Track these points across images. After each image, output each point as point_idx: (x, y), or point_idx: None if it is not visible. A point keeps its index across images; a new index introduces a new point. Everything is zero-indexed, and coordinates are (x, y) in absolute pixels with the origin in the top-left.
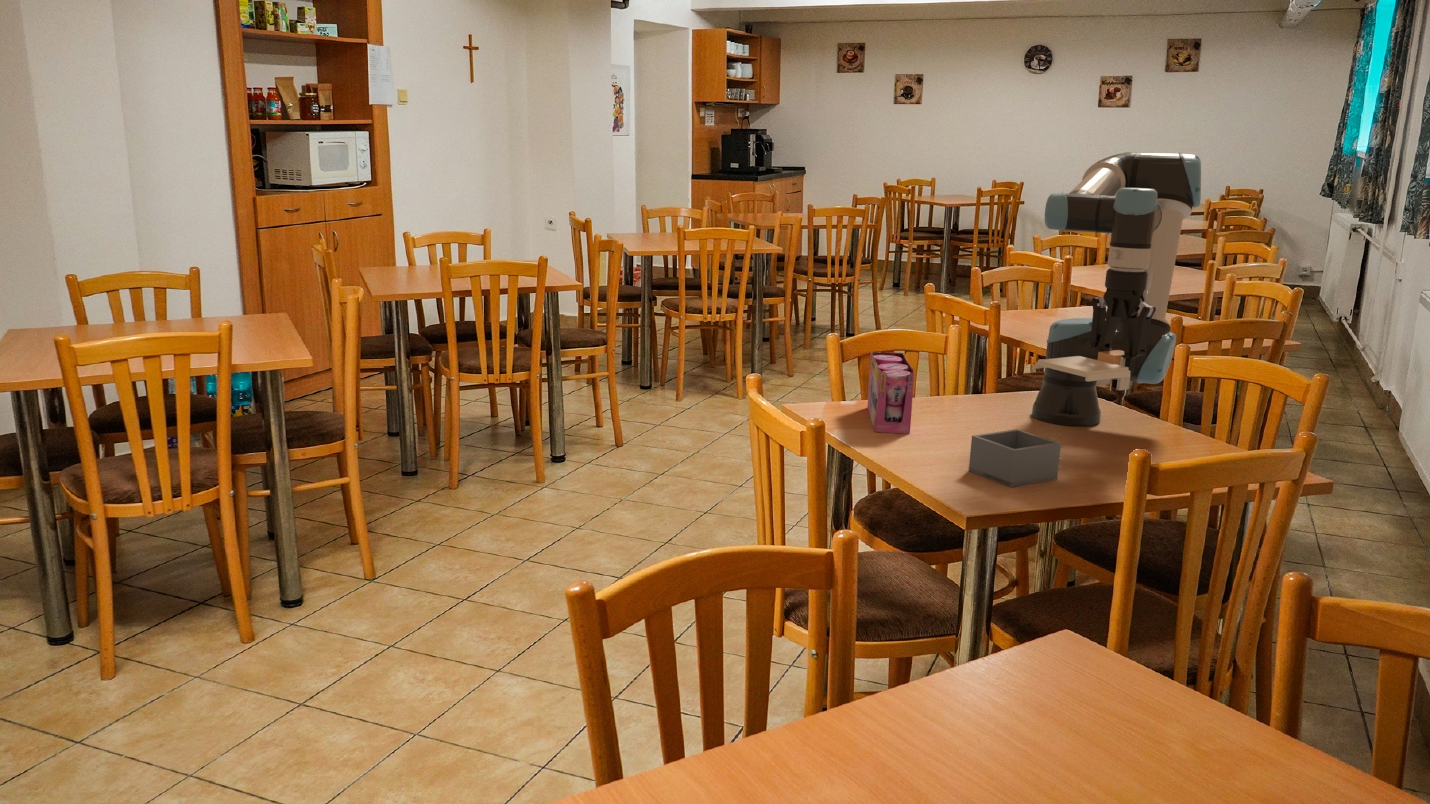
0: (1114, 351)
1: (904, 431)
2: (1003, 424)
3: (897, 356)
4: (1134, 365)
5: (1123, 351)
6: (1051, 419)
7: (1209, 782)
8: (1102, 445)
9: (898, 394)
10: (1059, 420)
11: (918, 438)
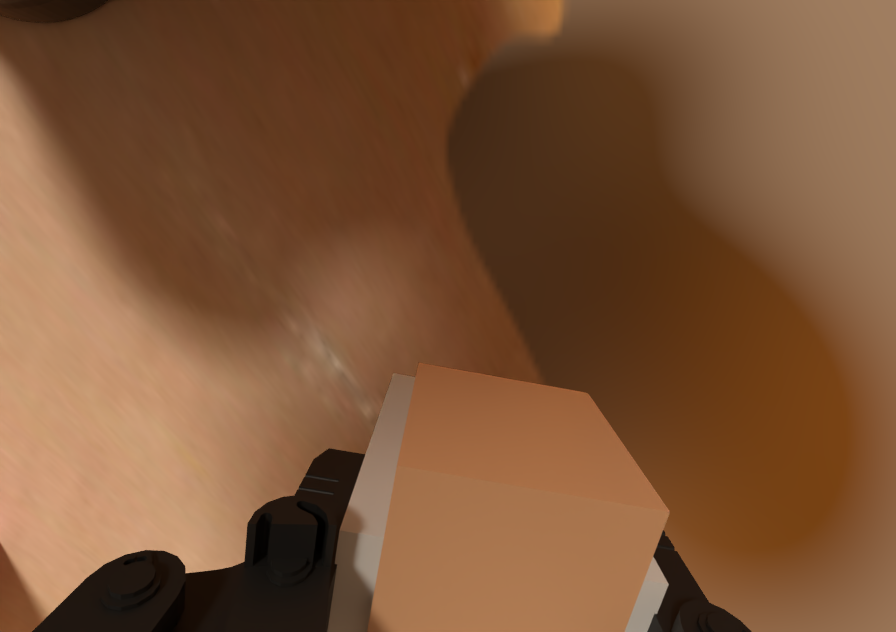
0: (428, 604)
1: None
2: (3, 207)
3: None
4: (678, 557)
5: (497, 516)
6: (45, 15)
7: None
8: (369, 156)
9: None
10: (75, 4)
11: (46, 552)
